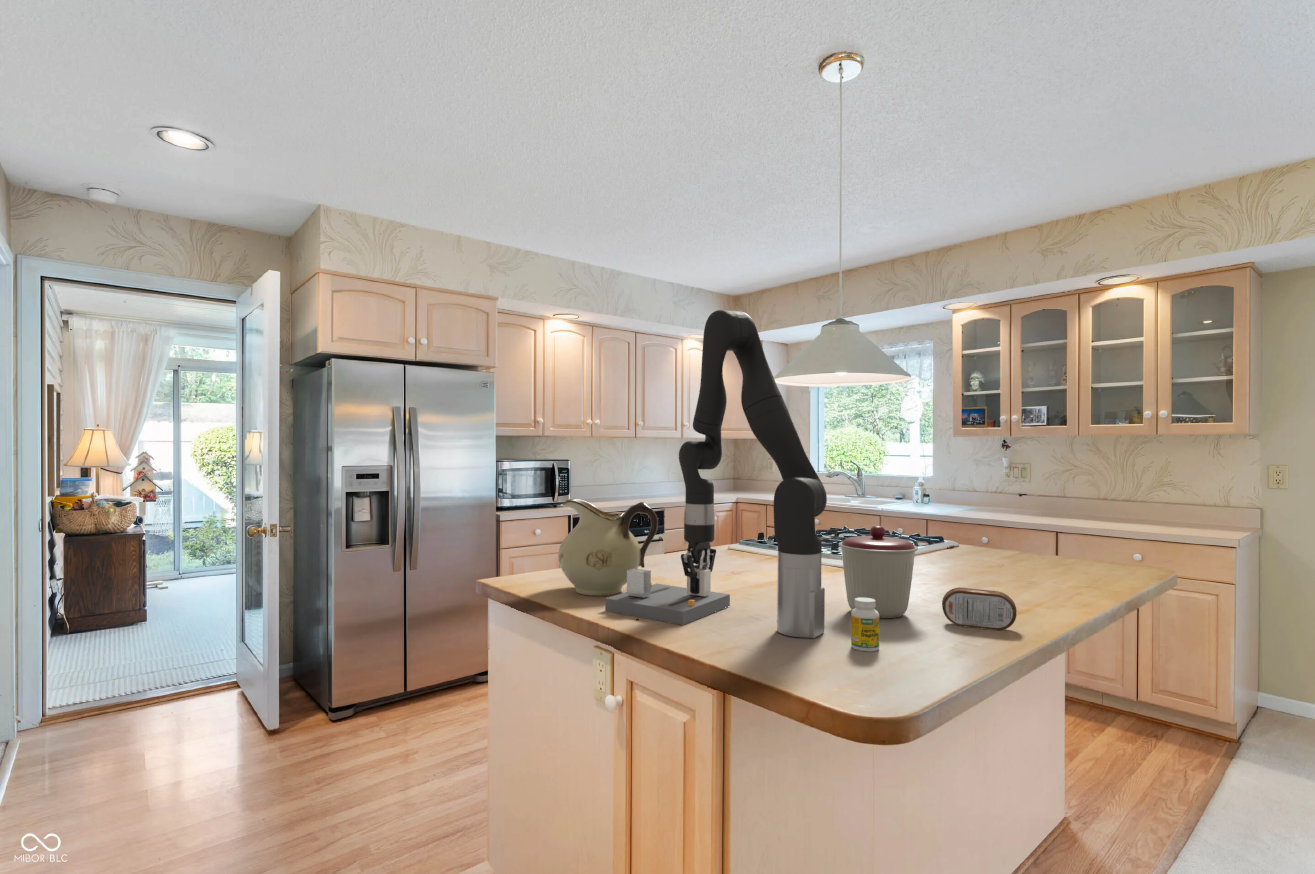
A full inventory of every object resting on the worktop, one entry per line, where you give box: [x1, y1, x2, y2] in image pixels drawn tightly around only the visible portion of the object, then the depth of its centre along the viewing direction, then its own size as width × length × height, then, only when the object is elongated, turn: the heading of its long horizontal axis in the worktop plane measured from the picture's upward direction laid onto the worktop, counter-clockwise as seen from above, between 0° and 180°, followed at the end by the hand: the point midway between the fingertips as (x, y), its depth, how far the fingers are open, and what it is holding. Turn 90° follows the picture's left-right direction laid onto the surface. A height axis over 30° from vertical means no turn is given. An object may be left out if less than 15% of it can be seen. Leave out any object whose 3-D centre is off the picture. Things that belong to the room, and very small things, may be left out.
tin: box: [941, 586, 1017, 631], centre depth 147 cm, size 15×3×8 cm, turn 65°
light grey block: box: [626, 568, 652, 598], centre depth 160 cm, size 5×3×6 cm, turn 56°
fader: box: [686, 568, 712, 596], centre depth 163 cm, size 5×3×6 cm, turn 56°
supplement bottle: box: [850, 598, 880, 653], centre depth 131 cm, size 5×5×10 cm
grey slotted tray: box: [604, 582, 731, 626], centre depth 161 cm, size 22×22×4 cm
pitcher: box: [558, 497, 659, 597], centre depth 181 cm, size 22×24×25 cm
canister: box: [838, 525, 919, 619], centre depth 159 cm, size 18×18×21 cm
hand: (698, 591), depth 163 cm, fingers open, 3 cm apart
